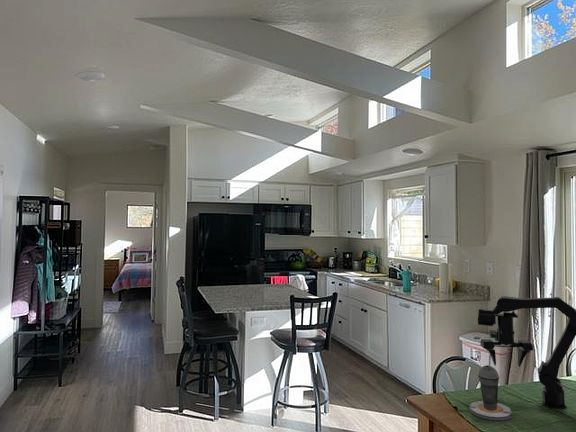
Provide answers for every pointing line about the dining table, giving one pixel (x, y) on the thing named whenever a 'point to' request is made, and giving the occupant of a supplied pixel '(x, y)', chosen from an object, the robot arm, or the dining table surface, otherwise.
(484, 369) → the beverage cup
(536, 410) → the dining table surface
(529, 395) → the dining table surface
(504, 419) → the base
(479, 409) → the disc
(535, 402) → the dining table surface
